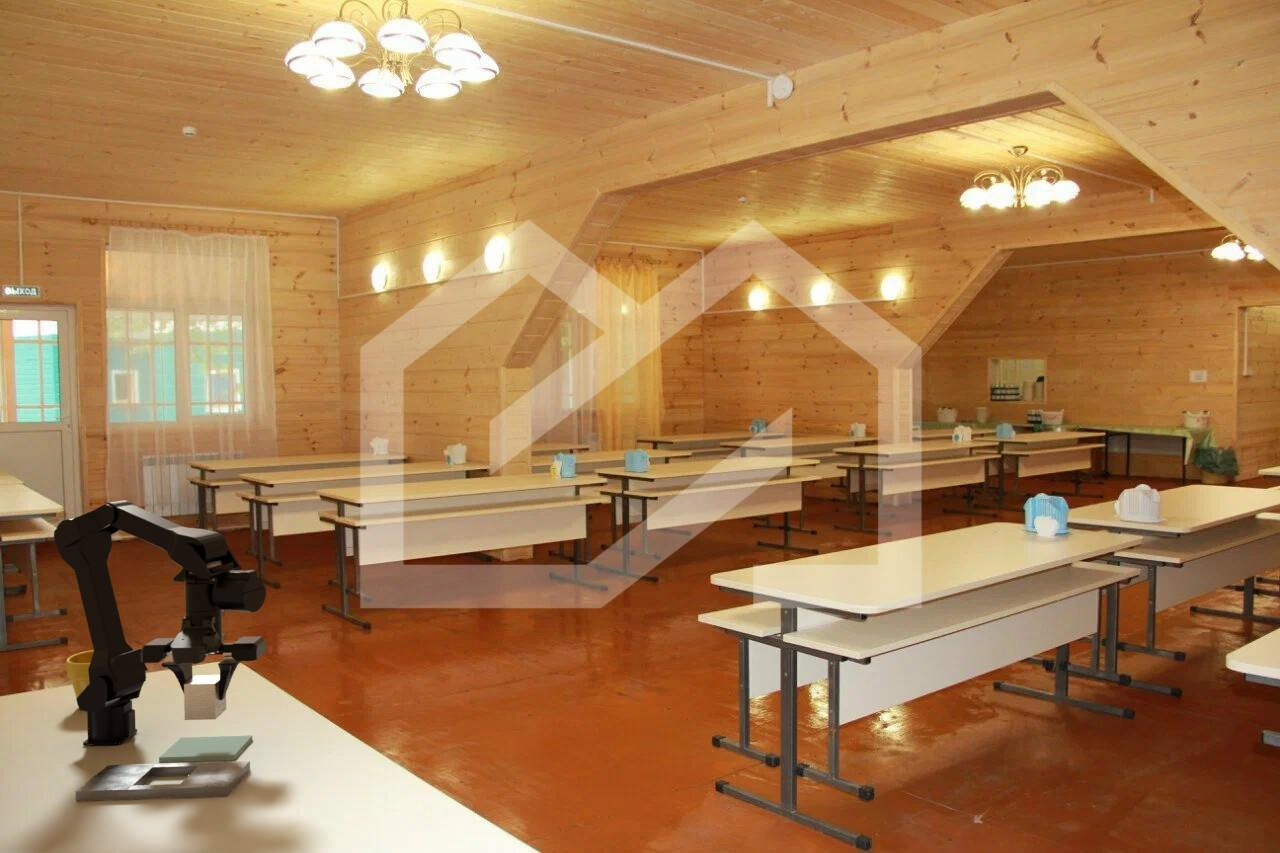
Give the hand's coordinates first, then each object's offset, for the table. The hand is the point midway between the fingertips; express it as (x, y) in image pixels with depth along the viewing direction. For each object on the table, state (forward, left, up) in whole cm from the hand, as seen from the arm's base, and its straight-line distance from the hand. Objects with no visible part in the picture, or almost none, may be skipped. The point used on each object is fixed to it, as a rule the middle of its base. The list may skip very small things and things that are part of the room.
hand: (205, 699), depth 162 cm
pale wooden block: (0, 0, -3) cm, 2 cm away
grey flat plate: (-1, -14, -9) cm, 17 cm away
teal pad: (0, 0, -9) cm, 9 cm away
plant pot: (-30, +26, -9) cm, 41 cm away
